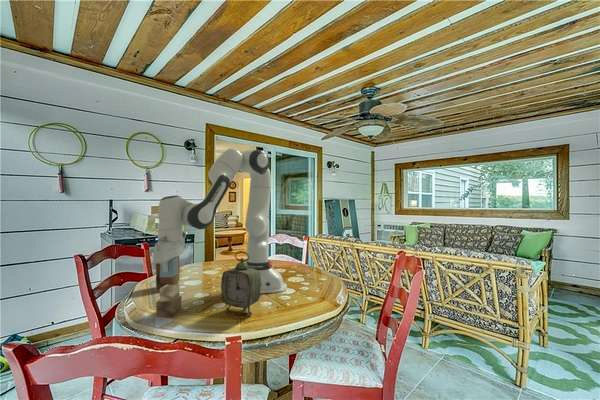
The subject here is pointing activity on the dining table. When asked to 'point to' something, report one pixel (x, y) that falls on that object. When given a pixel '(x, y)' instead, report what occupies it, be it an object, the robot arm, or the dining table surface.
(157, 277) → the block
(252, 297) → the tabletop clock
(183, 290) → the dining table surface
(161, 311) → the walnut base block
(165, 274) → the slate block
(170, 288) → the maple top block
